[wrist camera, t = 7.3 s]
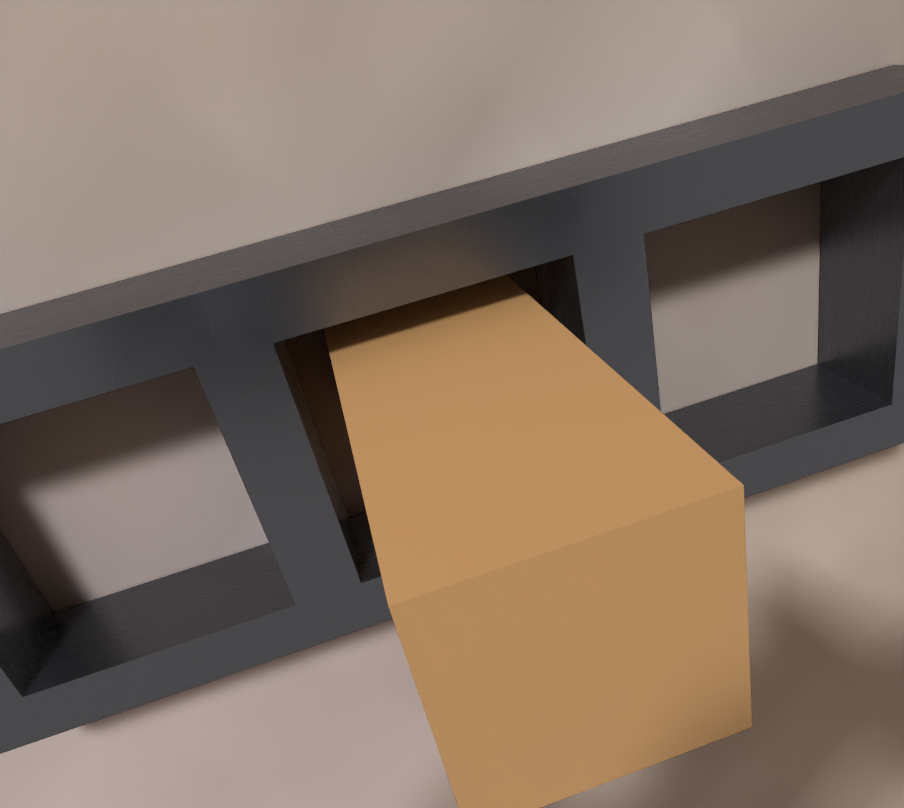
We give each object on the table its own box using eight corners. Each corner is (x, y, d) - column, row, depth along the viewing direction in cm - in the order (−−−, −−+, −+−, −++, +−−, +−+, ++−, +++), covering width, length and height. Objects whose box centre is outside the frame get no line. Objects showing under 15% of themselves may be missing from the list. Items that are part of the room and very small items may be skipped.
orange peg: (501, 270, 16) (743, 484, 8) (531, 426, 18) (751, 726, 10) (322, 322, 15) (388, 605, 7) (372, 477, 17) (468, 835, 9)
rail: (894, 65, 16) (996, 66, 14) (873, 385, 20) (951, 426, 17) (-216, 374, 13) (-309, 437, 11) (4, 673, 17) (-34, 765, 15)
